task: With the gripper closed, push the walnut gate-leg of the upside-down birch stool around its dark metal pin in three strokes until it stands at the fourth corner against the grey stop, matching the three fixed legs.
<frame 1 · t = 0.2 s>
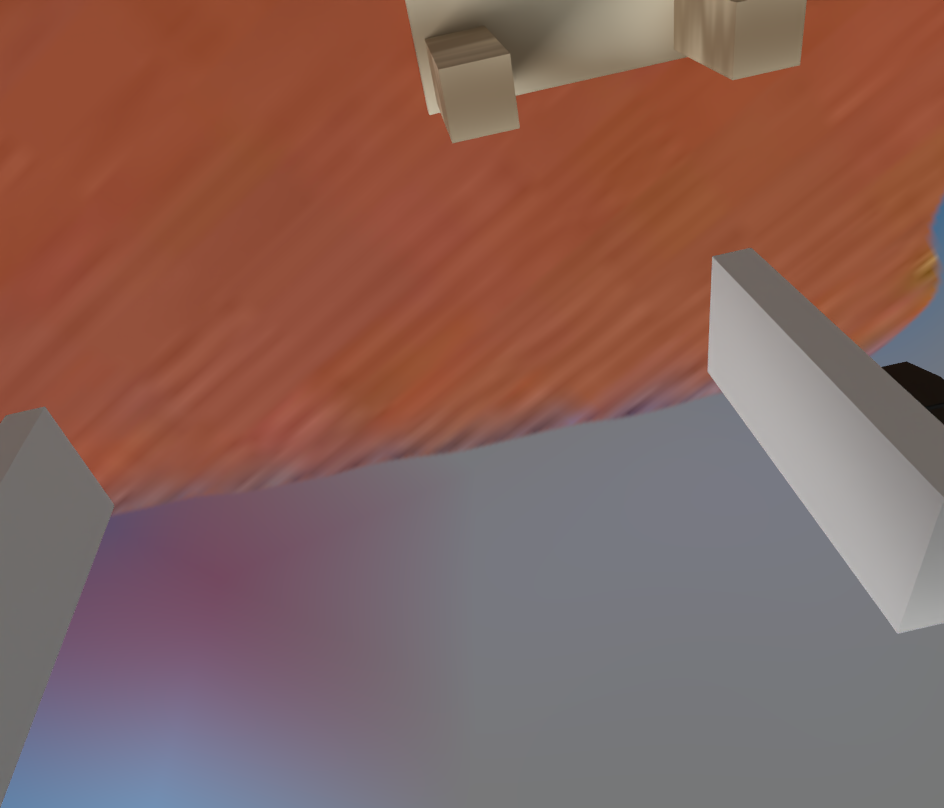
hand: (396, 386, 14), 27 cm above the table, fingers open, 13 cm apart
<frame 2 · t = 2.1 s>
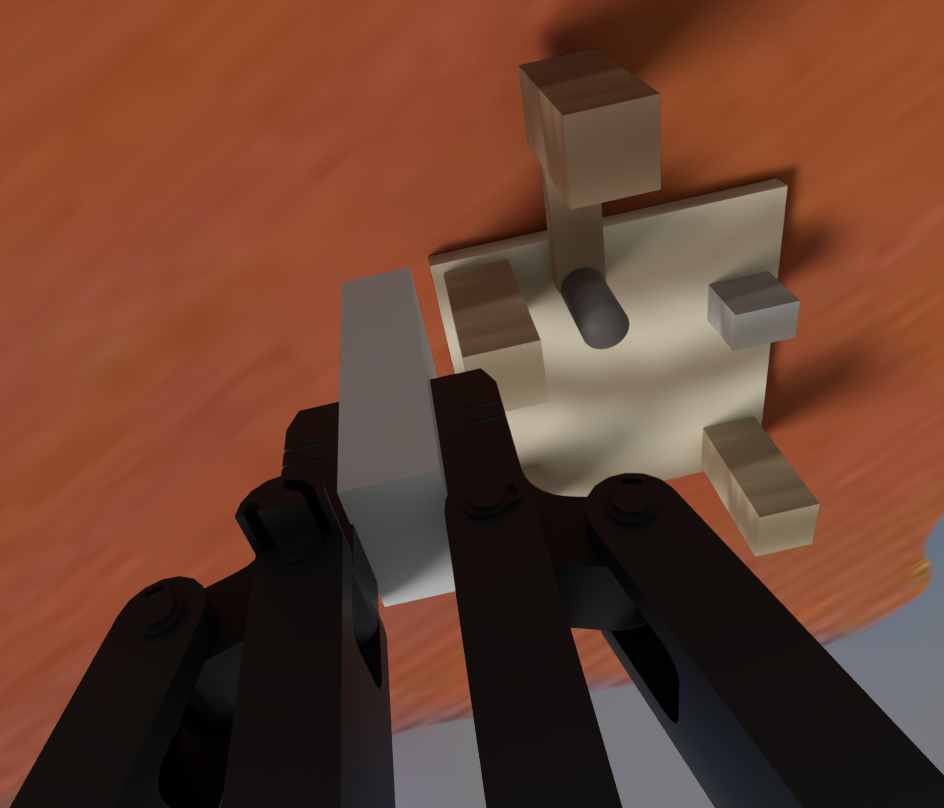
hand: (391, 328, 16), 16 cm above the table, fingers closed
stool seat: (611, 365, 37), on the table
hinged leg: (591, 221, 27), point 5 cm above the table, hinge at 0.0°
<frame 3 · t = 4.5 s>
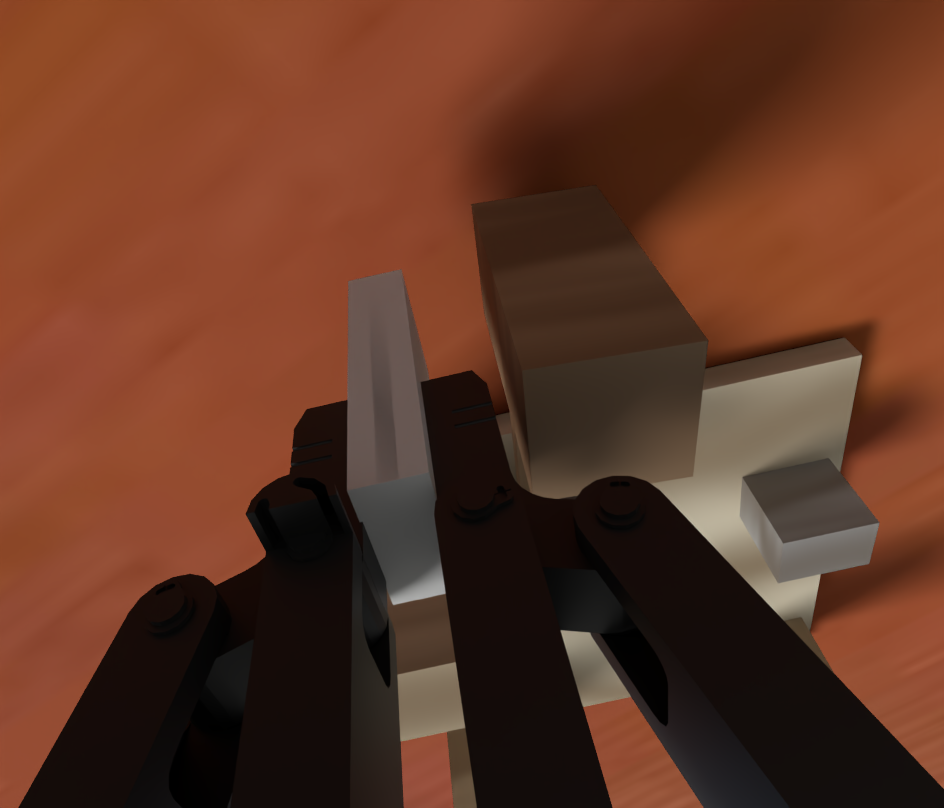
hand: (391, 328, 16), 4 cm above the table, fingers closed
stool seat: (606, 563, 27), on the table
hinged leg: (572, 454, 17), point 5 cm above the table, hinge at 4.4°, touching gripper
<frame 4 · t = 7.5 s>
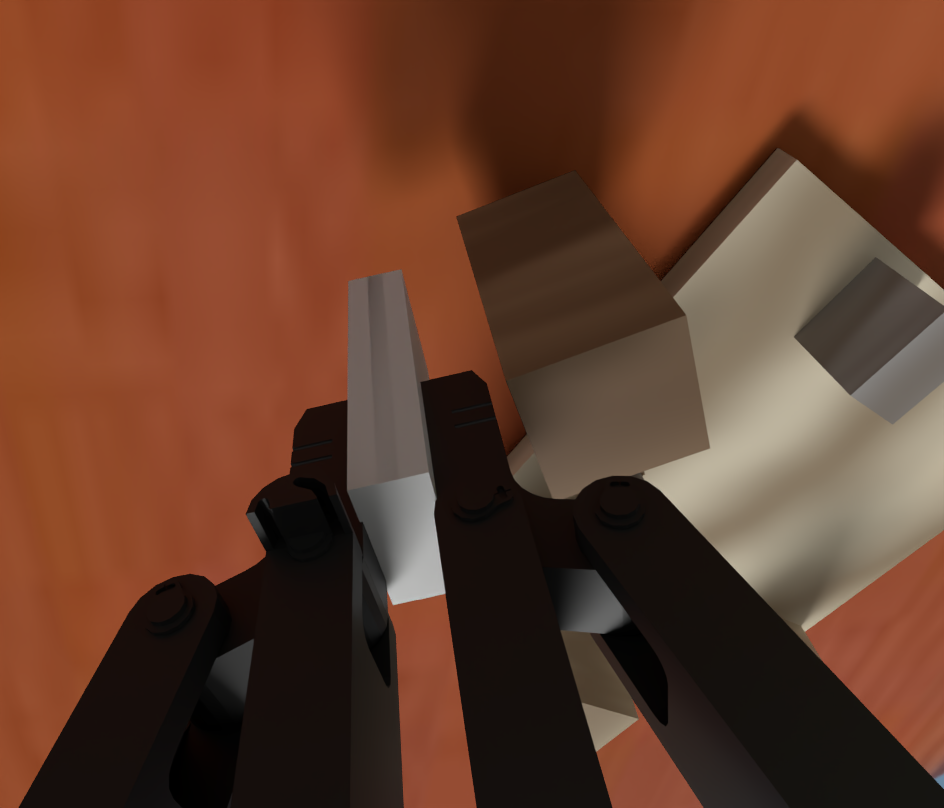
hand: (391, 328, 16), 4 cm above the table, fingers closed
stool seat: (753, 471, 25), on the table
hinged leg: (604, 441, 17), point 5 cm above the table, hinge at 35.9°, touching gripper
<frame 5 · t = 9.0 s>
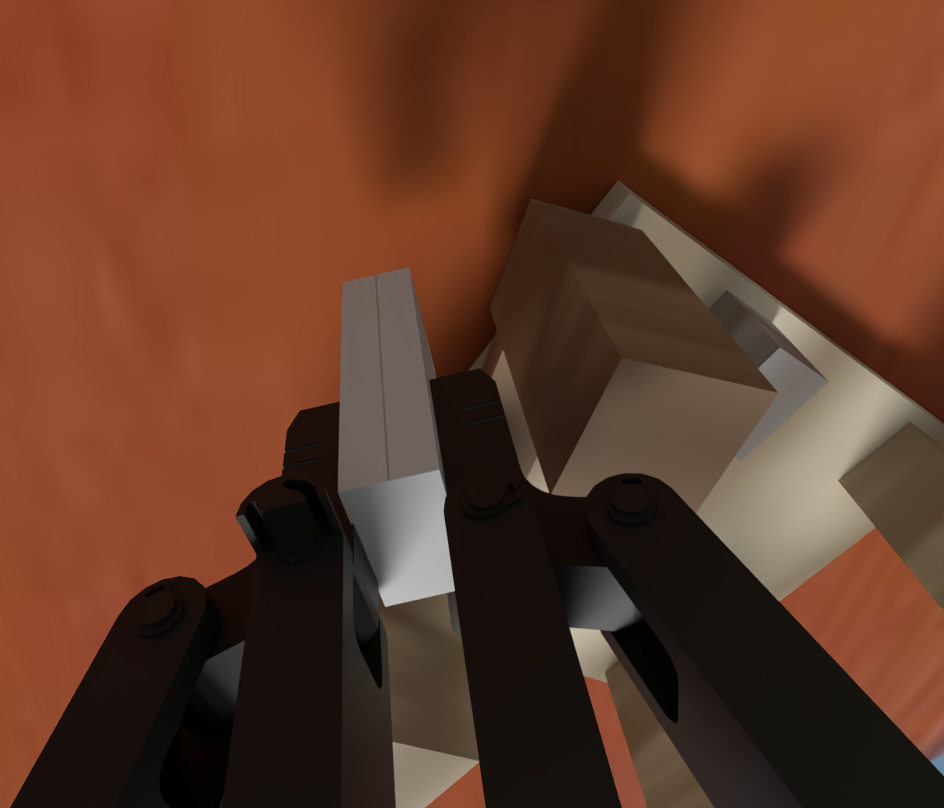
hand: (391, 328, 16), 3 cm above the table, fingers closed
stool seat: (636, 499, 25), on the table
hinged leg: (539, 470, 17), point 5 cm above the table, hinge at 73.2°
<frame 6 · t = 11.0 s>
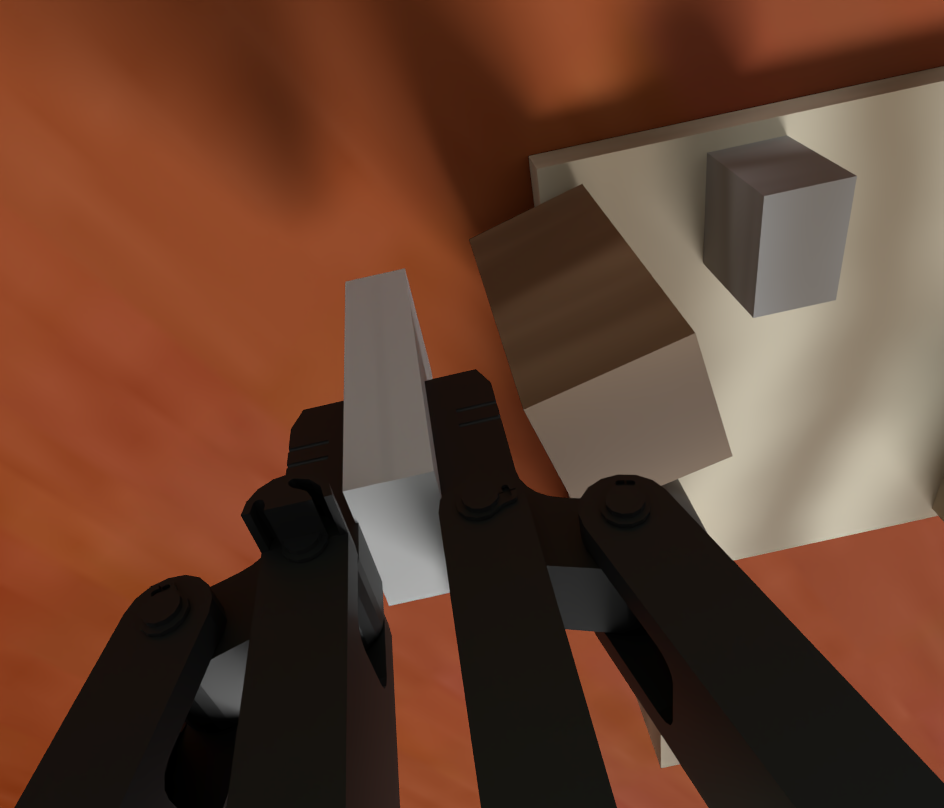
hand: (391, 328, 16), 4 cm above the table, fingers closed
stool seat: (816, 354, 23), on the table
hinged leg: (631, 447, 17), point 5 cm above the table, hinge at 75.0°, touching gripper
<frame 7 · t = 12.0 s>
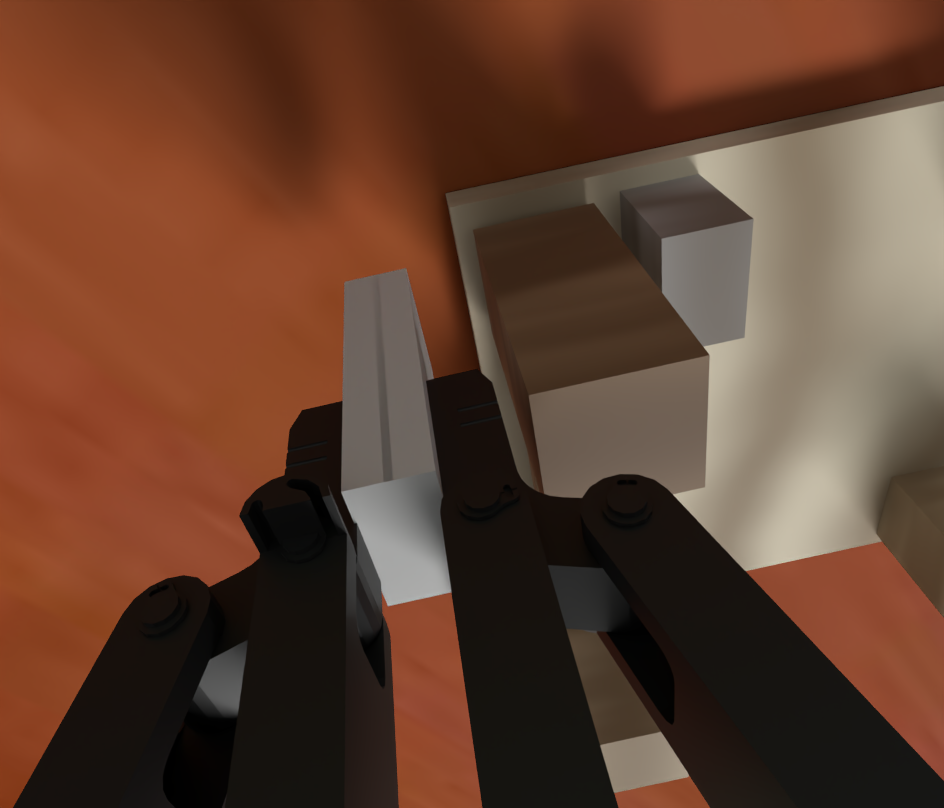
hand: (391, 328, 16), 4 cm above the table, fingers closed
stool seat: (750, 383, 23), on the table
hinged leg: (587, 469, 17), point 5 cm above the table, hinge at 89.6°, touching gripper
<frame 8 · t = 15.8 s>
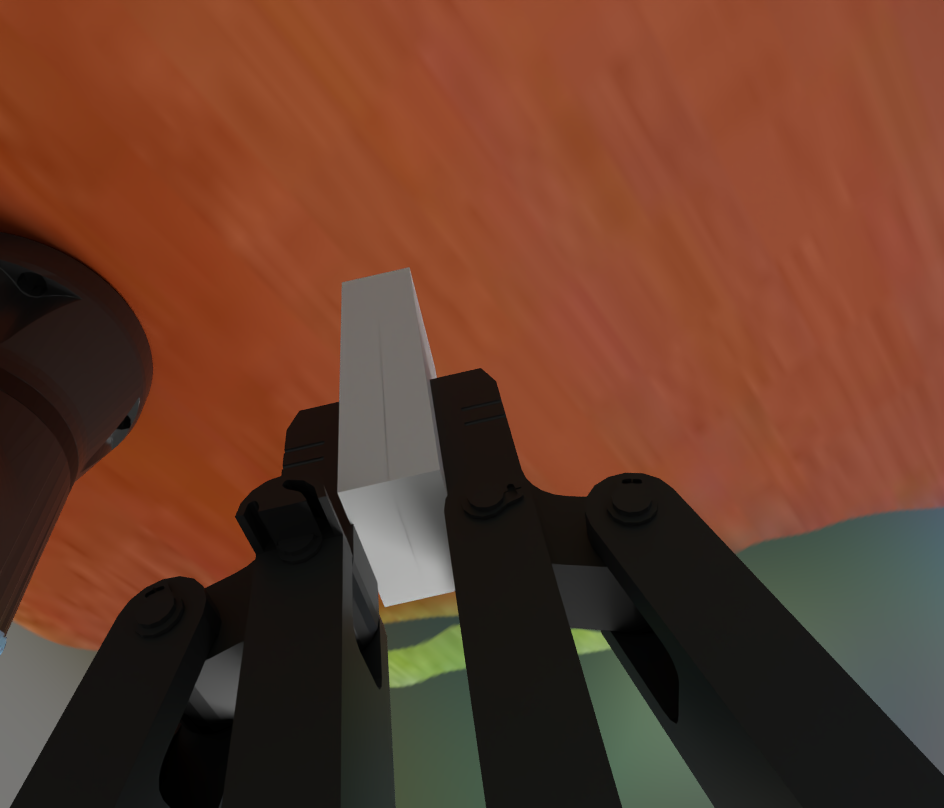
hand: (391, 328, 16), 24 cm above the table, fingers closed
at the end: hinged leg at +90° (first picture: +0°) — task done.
